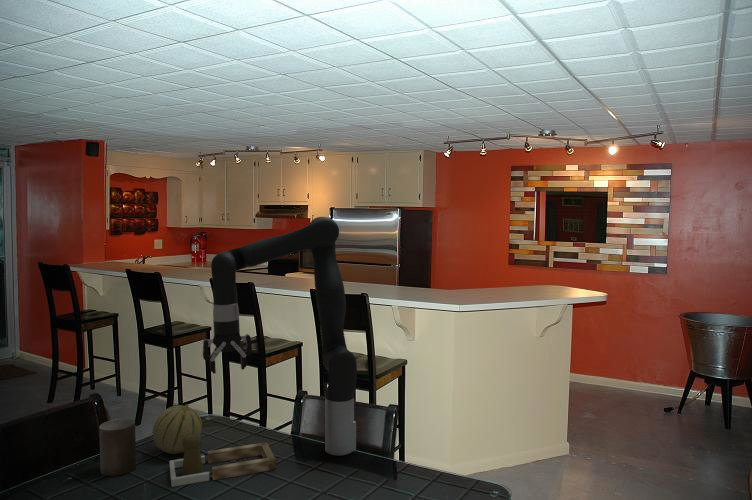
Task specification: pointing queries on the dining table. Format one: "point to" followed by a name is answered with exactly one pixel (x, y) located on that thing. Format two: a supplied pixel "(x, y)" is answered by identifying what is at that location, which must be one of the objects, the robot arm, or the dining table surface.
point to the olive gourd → (192, 455)
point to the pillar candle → (117, 447)
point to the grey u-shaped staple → (188, 478)
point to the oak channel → (241, 467)
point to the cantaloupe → (176, 428)
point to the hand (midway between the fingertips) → (228, 370)
